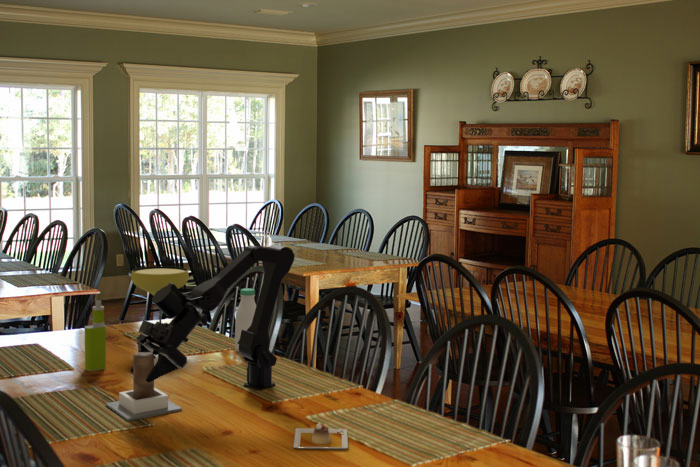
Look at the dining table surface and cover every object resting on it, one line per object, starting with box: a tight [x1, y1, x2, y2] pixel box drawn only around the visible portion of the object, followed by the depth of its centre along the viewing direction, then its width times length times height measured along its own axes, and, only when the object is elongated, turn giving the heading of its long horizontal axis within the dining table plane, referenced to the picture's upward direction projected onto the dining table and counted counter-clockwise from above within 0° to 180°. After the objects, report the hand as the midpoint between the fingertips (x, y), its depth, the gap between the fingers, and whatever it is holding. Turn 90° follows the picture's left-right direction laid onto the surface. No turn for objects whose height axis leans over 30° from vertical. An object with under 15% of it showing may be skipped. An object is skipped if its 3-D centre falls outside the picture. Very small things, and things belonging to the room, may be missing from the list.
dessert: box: [293, 421, 349, 450], centre depth 181 cm, size 12×12×5 cm
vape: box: [84, 299, 107, 372], centre depth 233 cm, size 4×6×20 cm, turn 134°
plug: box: [132, 352, 155, 400], centre depth 199 cm, size 5×5×13 cm
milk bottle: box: [234, 288, 257, 353], centre depth 258 cm, size 8×8×20 cm
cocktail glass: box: [130, 265, 190, 323], centre depth 261 cm, size 18×18×25 cm
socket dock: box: [105, 387, 183, 422], centre depth 200 cm, size 14×14×4 cm
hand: (139, 377), depth 198 cm, fingers open, 9 cm apart
